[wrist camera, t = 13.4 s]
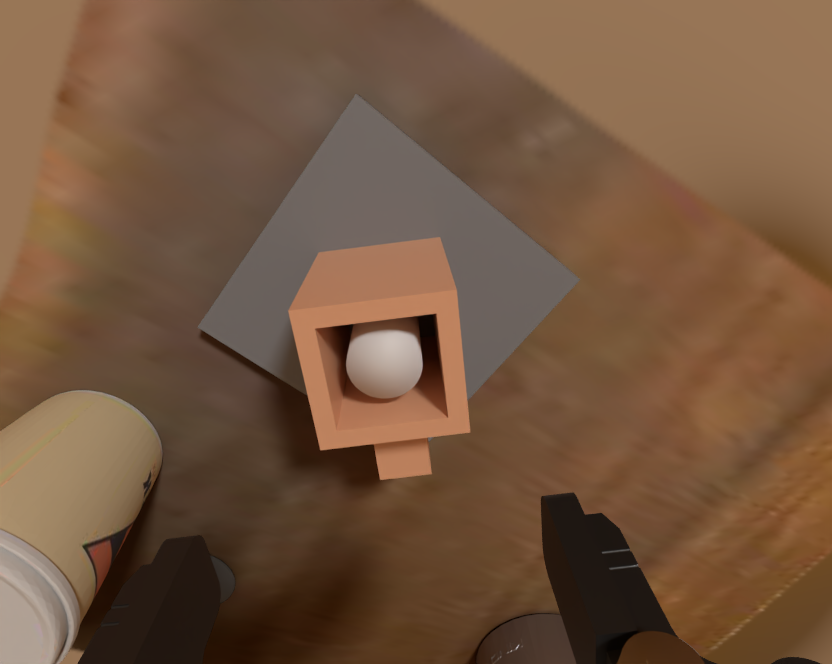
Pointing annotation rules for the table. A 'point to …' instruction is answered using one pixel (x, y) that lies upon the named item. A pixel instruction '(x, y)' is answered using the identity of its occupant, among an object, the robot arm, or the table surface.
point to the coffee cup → (66, 514)
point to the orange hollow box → (373, 301)
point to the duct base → (382, 224)
